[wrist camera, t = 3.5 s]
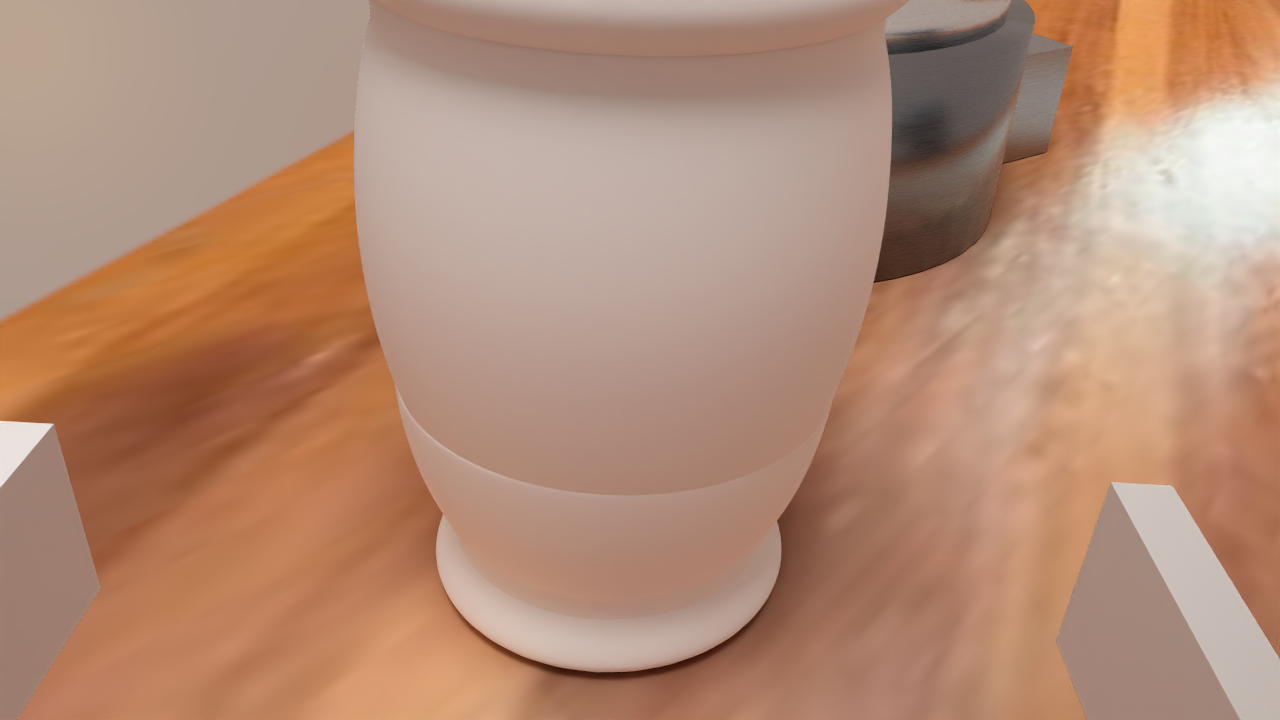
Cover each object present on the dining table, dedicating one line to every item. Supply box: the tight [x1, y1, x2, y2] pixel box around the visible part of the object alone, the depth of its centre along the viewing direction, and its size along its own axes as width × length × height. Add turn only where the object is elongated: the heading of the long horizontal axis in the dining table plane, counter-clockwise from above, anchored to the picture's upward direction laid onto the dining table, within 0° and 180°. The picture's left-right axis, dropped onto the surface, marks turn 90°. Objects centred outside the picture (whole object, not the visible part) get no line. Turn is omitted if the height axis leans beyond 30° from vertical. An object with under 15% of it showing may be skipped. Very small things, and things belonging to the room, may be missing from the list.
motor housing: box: [874, 0, 1073, 282], centre depth 46 cm, size 24×20×11 cm
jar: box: [354, 0, 909, 672], centre depth 23 cm, size 11×10×15 cm
